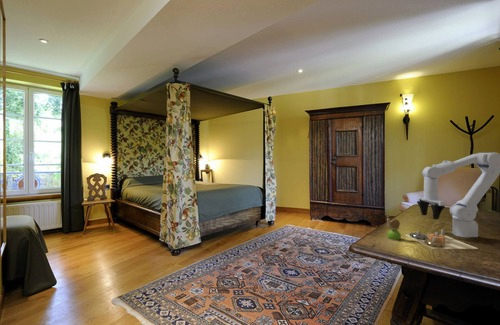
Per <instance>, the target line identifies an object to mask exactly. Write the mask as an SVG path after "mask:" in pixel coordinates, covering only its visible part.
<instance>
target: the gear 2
mask: <svg viewBox="0 0 500 325" xmlns="http://www.w3.org/2000/svg"><path fill="white" fill-rule="evenodd" d="M424 243H426V245H430V246H432V247H437V248H439V247H442V248H444V247H445V243H443V242H440V241H438V240H436V243H434V241H432V239H430V240H427V239H426V240H424ZM426 245H425V246H426Z"/></svg>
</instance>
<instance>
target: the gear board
mask: <svg viewBox="0 0 500 325" xmlns="http://www.w3.org/2000/svg"><path fill="white" fill-rule="evenodd" d="M445 230H446V229H444V228H443V229H442V228H440V231H439V232H438V231H435V232H434V234H435V236H437V237H439V235H443V236H444V237H445V247H444V248H442V247H439V248H437V247H432V246H430V245H426V243H424V240H420V239H415V238H412V237H411V236H410V234H404V236H406V237H408V238H409V239H412V240H414V241H415V242H418V243H419V244H422V245H423V246H426V247H427V248H430V249H432V250H458V249H460V250H464V249H465V250H467V249H469V250H473V249H475V250H478V249H479V248H478V247H475V246H473V245H470V244H468V243H465V242H462V241H460V240H458V239H457V238H456V239H455V238H453V237H450V236H448V235H446V234H445V233H446V231H445ZM416 233H417V235H420V233H421V230H417V231H416ZM425 235H426V236H428V239H427V240H429V234H425ZM436 239H437V238H434V237H433V238H432V241H434V243H436Z"/></svg>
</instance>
